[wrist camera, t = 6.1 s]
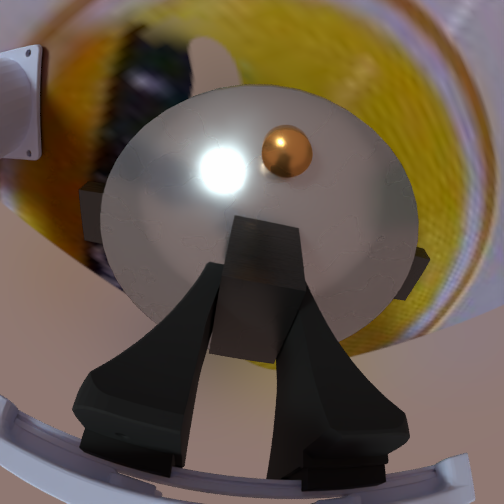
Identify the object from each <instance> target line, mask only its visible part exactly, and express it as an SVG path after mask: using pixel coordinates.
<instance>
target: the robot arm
mask: <svg viewBox="0 0 504 504" xmlns="http://www.w3.org/2000/svg"><path fill="white" fill-rule="evenodd" d="M30 50H31V55H30V54H29V53H30ZM41 61H42V46H41V45H39V44H37V45H31V46H26V47H22V48H18V49H13V50H9V51H6V52H2V53H0V159H1V158H10V159H24V160H37V159H39V158H40V157H41V155H42V149H41V132H40V77H41ZM30 151H31V153H30ZM223 267H224V264H219V263H214V262H208V263H206V266H205V268H204V269H203V271H202V273H201V274H200V276H199V277H198V279H197V280H196V282H195V283H194V284H193V286H192V287H191V288H190V290H189V291H188V292H187V294H186V295H185V296H184V297H183V298H182V300H181V301H180V302H179V303H178V304H177V305H176V306H175V307H174V309H173V310H172V311H171V312H170V313H169V314H168V315H167V316H166V317H165V318H164V319H163V320H162V321H161V322H160V323H159V324H158V325H157V326H155V327H154V329H152V330H151V331H150V332H149V333H147V334H146V335H145V336H144V337H143V338H142V339H140V340H139V341H138V342H136V343H135V344H134V345H132V346H131V347H129V348H128V349H127V350H125V351H124V352H122V353H121V354H119V355H118V356H116V357H115V358H113V359H112V360H110V361H108V362H107V363H105V364H103V365H102V366H99V367H98V368H96V369H94V370H92V371H91V372H90V373H89V374H88V376H87V377H86V379H85V380H84V382H83V384H82V386H81V387H80V389H79V391H78V394H77V397H76V399H75V402H74V405H73V408H72V410H73V412H74V414H75V416H76V417H77V419H78V420H79V421H80V422H81V424H82V425H83V426H84V427H85V430H84V433H83V436H82V439H80V438H77V437H75V436H72V435H70V434H68V433H65V432H63V431H61V430H58V429H56V428H54V427H51V426H50V425H47V424H45V423H43V422H41V421H39V420H37V419H35V418H33V417H31V416H29V415H27V414H25V413H23V412H21V411H20V410H18V408H17V407H16V406H15V405H14V404H13V403H12V402H11V401H10V400H8V399H7V398H5V397H4V396H2V395H0V465H1V466H2V467H4V468H5V469H7V470H8V471H10V472H11V473H13V474H14V475H16V476H18V477H19V478H21V479H22V480H24V481H26V482H28V483H29V484H31V485H33V486H35V487H36V488H38V489H40V490H42V491H43V492H45V493H47V494H49V495H51V496H53V497H55V498H57V499H59V500H61V501H63V502H65V503H67V504H202V503H195V502H188V501H182V500H176V499H171V498H165V497H162V493H161V492H160V491H158V490H156V487H155V486H154V485H152V484H149V483H146V482H143V481H140V480H137V479H134V478H131V477H129V476H126V475H130V476H133V477H136V478H140V479H143V480H147V481H151V482H155V483H159V484H164V485H168V486H173V487H178V488H183V489H188V490H194V491H200V492H206V493H213V494H221V495H229V496H240V497H252V498H271V499H272V498H274V499H310V498H331V497H340V498H334V499H326V500H318V501H317V502H315V503H312V504H469V503H471V502H473V501H474V500H475V493H474V486H473V480H472V474H471V468H470V463H469V458H468V454H467V453H463V454H460V455H456V456H452V457H449V458H446V459H444V460H442V461H440V462H438V463H436V464H435V465H432V466H427V467H423V468H419V469H413V470H408V471H402V472H397V473H391V474H385V465H384V464H387V463H388V454H389V453H390V452H392V451H394V450H396V449H397V448H399V447H401V446H402V445H404V444H405V443H406V442H407V441H408V439H409V438H410V434H409V428H408V423H407V419H406V415H405V413H404V412H403V411H402V410H400V409H399V408H398V407H397V406H396V405H394V404H393V403H392V402H391V401H389V400H388V399H387V398H386V397H385V396H384V395H383V394H382V393H381V392H380V391H379V390H378V389H377V388H376V387H375V386H374V385H373V384H372V383H371V382H370V381H369V380H368V379H367V378H366V377H365V376H364V375H363V373H362V372H361V371H360V370H359V369H358V368H357V367H356V365H355V364H354V363H353V362H352V360H351V359H350V358H349V356H348V355H347V354H346V352H345V351H344V349H343V348H342V347H341V345H340V344H339V342H338V341H337V339H336V337H335V336H334V334H333V332H332V331H331V329H330V327H329V326H328V324H327V322H326V320H325V318H324V317H323V315H322V313H321V311H320V309H319V307H318V305H317V303H316V301H315V299H314V297H313V295H312V293H311V291H310V289H309V287H308V285H307V283H306V281H305V283H306V293H305V295H304V298H303V300H302V302H301V305H300V307H299V309H298V311H297V314H296V316H295V318H294V320H293V323H292V325H291V327H290V329H289V332H288V334H287V336H286V338H285V340H284V342H283V345H282V347H281V349H280V351H279V353H278V355H277V357H276V370H277V397H276V409H275V421H274V430H273V438H272V446H271V453H270V460H269V467H268V473H267V478H266V479H256V478H245V477H234V476H226V475H219V474H211V473H205V472H199V471H193V470H188V469H183V468H182V467H184V466H185V459H186V452H187V446H188V440H189V434H190V427H191V421H192V415H193V409H194V403H195V398H196V392H197V387H198V381H199V377H200V372H201V368H202V365H203V361H204V358H205V355H206V351H207V348H208V344H209V341H210V338H211V334H212V330H213V324H214V318H215V312H216V306H217V300H218V294H219V288H220V282H221V277H222V272H223ZM118 472H119V473H118ZM120 473H122V474H120ZM123 474H126V475H123Z"/></svg>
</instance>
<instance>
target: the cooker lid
mask: <svg viewBox="0 0 504 504" xmlns="http://www.w3.org/2000/svg"><path fill="white" fill-rule="evenodd" d="M100 223H101V236H102V241H103V247H104V251H105V254H106V257H107V260H108V263H109V265H110V267H111V269H112V271H113V273H114V276H115V278H116V279H117V281H118V283H119V284H120V286H121V287H122V289H123V290H124V292H125V293H126V294H127V295H128V297H129V298H130V299H131V300H132V302H133V303H134V304H135V305H136V306H137V307H138V308H139V309H140V310H141V311H142V312H143V313H144V314H145V315H146V316H148V317H149V318H150V319H151V320H153V321H154V322H155V323H157V324H159V323H160V322H161V321H162V320H163V319H164V318H165V317H166V316H167V315H168V314H169V313H170V312H171V311H172V310H173V309H174V307H175V306H176V305H177V304H178V303H179V302H180V301H181V300H182V298H183V297H184V296H185V295H186V294H187V292H188V291H189V290H190V288H191V287H192V286H193V284H194V283H195V282H196V280H197V279H198V277H199V276H200V274H201V273H202V271H203V269H204V268H205V266H206V263H208V262H214V263H219V264H224V267H223V272H222V277H221V282H220V288H219V294H218V300H217V306H216V312H215V318H214V324H213V330H212V334H211V338H210V341H209V344H208V348H207V349H209V353H210V354H216V355H221V356H227V357H232V358H238V359H245V360H251V361H258V362H265V363H272V364H274V362H275V359H276V357H277V355H278V353H279V351H280V349H281V347H282V345H283V342H284V340H285V338H286V336H287V334H288V332H289V329H290V327H291V325H292V323H293V320H294V318H295V316H296V314H297V311H298V309H299V307H300V305H301V302H302V300H303V298H304V295H305V293H306V283H307V285H308V287H309V289H310V291H311V293H312V295H313V297H314V299H315V301H316V303H317V305H318V307H319V309H320V311H321V313H322V315H323V317H324V318H325V320H326V322H327V324H328V326H329V327H330V329H331V331H332V332H333V334H334V336H335V337H336V339H337V341H338V342H339V341H341V340H343V339H345V338H347V337H349V336H351V335H352V334H354V333H356V332H357V331H359V330H360V329H362V328H363V327H365V326H366V325H367V324H369V323H370V322H371V321H372V320H373V319H375V318H376V317H377V316H378V315H379V314H380V313H381V312H382V311H383V310H384V309H385V308H386V307H387V306H388V305H389V303H390V302H391V301H392V300H393V298H394V297H395V296H396V294H397V293H398V291H399V290H400V289H401V287H402V285H403V283H404V281H405V279H406V277H407V275H408V273H409V271H410V268H411V265H412V262H413V260H414V256H415V251H416V246H417V241H418V214H417V205H416V201H415V197H414V194H413V190H412V187H411V184H410V181H409V179H408V177H407V175H406V173H405V171H404V169H403V167H402V165H401V163H400V162H399V160H398V159H397V157H396V156H395V154H394V153H393V151H392V150H391V149H390V147H389V146H388V145H387V144H386V143H385V142H384V141H383V140H382V139H381V138H380V136H379V135H378V134H377V133H376V132H375V131H374V130H373V129H372V128H370V127H369V126H368V125H366V124H365V123H364V122H363V121H361V120H360V119H359V118H357V117H356V116H354V115H353V114H352V113H350V112H349V111H348V110H346V109H345V108H343V107H341V106H339V105H337V104H335V103H333V102H331V101H329V100H327V99H325V98H323V97H321V96H318V95H315V94H312V93H309V92H306V91H303V90H300V89H296V88H290V87H284V86H278V85H268V84H244V85H237V86H230V87H223V88H218V89H215V90H212V91H209V92H205V93H202V94H199V95H196V96H193V97H191V98H189V99H187V100H185V101H183V102H181V103H179V104H177V105H175V106H173V107H171V108H170V109H168V110H166V111H164V112H163V113H162V114H160V115H159V116H157V117H156V118H155V119H153V120H152V121H151V122H149V123H148V124H147V125H145V126H144V127H143V128H142V129H141V130H140V131H139V132H138V133H137V134H136V135H135V136H134V137H133V138H132V139H131V140H130V141H129V143H128V144H127V145H126V147H125V148H124V150H123V151H122V153H121V154H120V155H119V157H118V158H117V160H116V162H115V164H114V166H113V168H112V170H111V172H110V174H109V176H108V179H107V182H106V186H105V189H104V193H103V196H102V204H101V212H100ZM305 281H306V283H305Z"/></svg>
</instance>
